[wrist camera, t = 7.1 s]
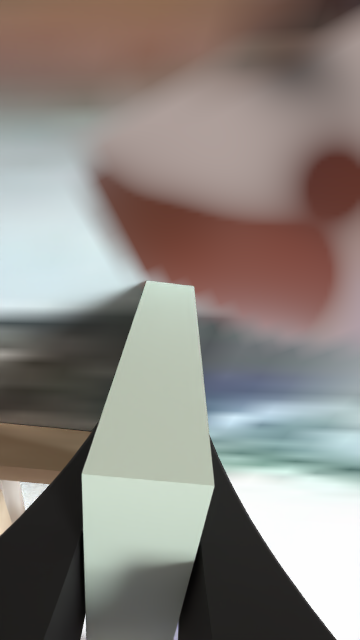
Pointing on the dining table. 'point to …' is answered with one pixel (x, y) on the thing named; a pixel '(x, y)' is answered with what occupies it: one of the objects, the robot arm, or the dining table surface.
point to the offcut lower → (13, 498)
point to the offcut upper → (4, 515)
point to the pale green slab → (148, 475)
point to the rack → (36, 451)
